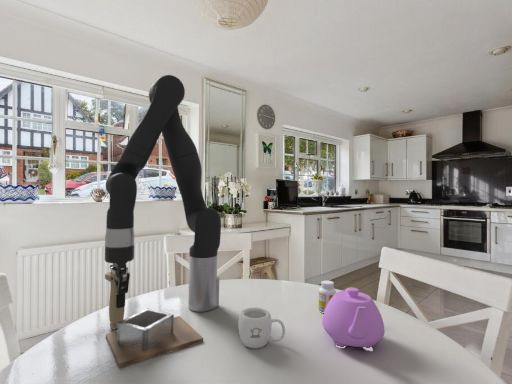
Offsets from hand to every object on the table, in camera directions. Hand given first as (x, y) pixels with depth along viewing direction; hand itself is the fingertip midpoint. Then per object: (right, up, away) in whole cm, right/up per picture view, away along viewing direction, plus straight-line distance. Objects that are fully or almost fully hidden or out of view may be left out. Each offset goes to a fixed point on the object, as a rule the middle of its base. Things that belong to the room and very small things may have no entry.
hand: (118, 304), depth 83 cm
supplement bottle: (+62, -8, +13) cm, 64 cm away
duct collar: (+11, -7, -8) cm, 15 cm away
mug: (+40, -7, -8) cm, 42 cm away
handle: (0, -6, 0) cm, 6 cm away
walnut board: (+12, -7, -7) cm, 16 cm away
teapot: (+64, -8, -6) cm, 65 cm away
